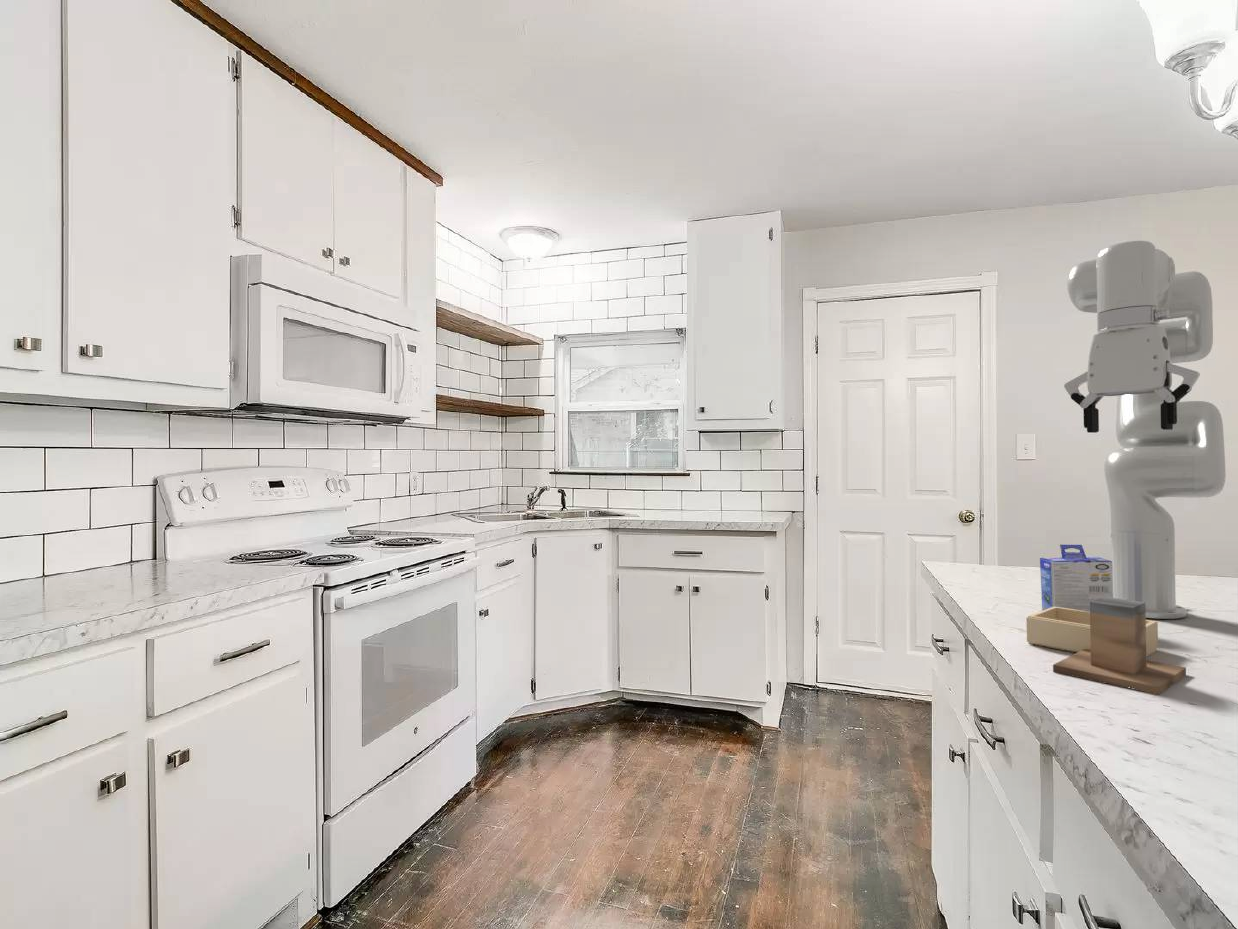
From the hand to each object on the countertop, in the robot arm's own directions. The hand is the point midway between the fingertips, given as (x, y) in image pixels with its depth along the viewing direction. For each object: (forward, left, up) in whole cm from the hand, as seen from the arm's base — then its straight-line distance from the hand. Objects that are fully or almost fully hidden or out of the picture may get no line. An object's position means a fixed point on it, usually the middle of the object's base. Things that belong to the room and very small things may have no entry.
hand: (1128, 431), depth 104 cm
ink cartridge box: (-7, -10, -34) cm, 37 cm away
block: (+16, +3, -33) cm, 37 cm away
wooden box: (+5, -4, -34) cm, 35 cm away
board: (+16, +3, -34) cm, 38 cm away
